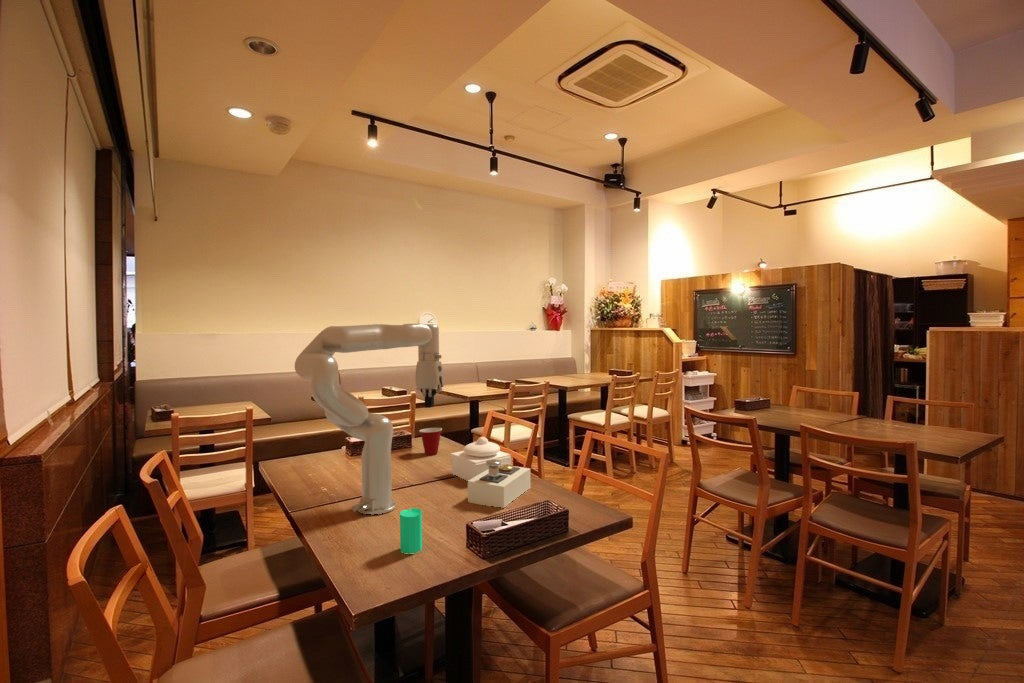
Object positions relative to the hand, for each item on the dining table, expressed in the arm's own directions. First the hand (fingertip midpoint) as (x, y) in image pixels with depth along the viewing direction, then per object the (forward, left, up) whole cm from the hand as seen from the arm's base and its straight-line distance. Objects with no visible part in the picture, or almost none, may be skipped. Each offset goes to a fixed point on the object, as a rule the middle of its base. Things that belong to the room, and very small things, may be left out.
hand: (429, 407), depth 177 cm
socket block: (+6, -26, -31) cm, 41 cm away
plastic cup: (+41, +29, -31) cm, 59 cm away
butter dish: (+23, -8, -32) cm, 40 cm away
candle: (-41, -23, -31) cm, 56 cm away
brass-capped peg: (+11, -26, -30) cm, 41 cm away
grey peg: (+1, -26, -26) cm, 37 cm away
